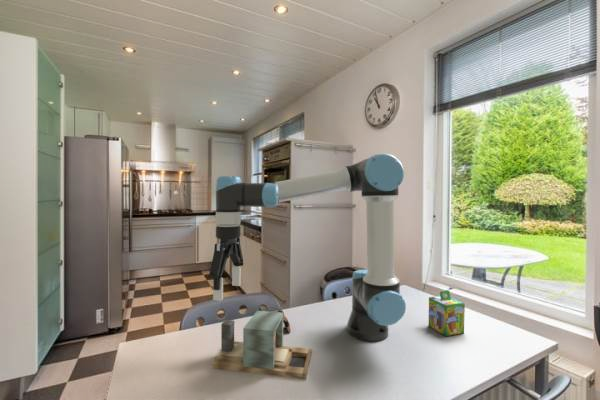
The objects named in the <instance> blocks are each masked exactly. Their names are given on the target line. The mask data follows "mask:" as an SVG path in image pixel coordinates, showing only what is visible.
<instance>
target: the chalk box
mask: <svg viewBox="0 0 600 400" xmlns="http://www.w3.org/2000/svg"><path fill="white" fill-rule="evenodd" d="M444 294H446V295H444ZM465 305H466V304H465V303H464V302H462V301H460V300H458V299H456V298H454V297H451V293H450V290H440V291H439V295H438V296H430V297H428V325H427V326H428V327H430V328H431V329H433V330H434V331H437V332H438V333H440V334H442V335H443V336H445V337H448V336H453V335H461V334H465V312H466V311H465Z"/></svg>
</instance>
